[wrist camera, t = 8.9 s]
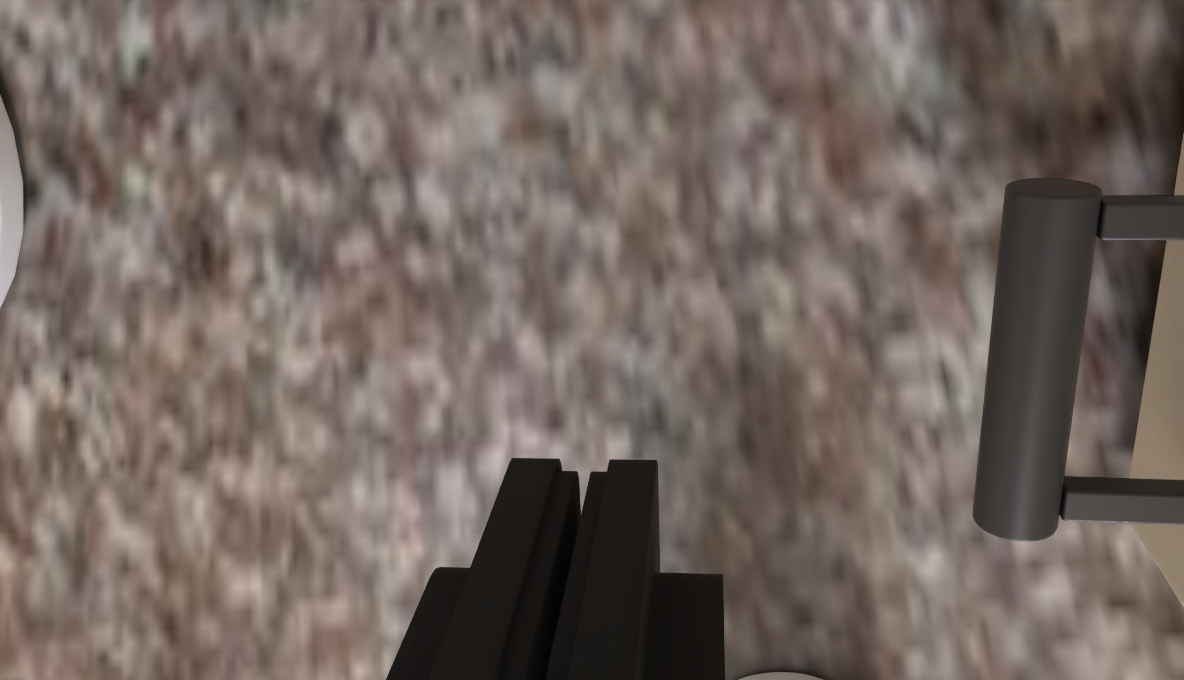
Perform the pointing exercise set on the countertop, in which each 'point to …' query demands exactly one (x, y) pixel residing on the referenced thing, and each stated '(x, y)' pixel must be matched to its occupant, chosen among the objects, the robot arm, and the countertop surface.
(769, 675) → the pill bottle
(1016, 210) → the drawer
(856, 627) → the countertop surface
